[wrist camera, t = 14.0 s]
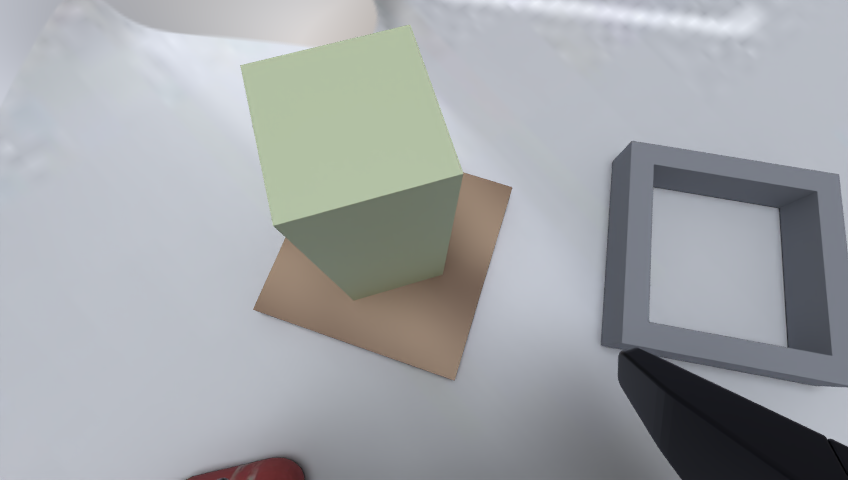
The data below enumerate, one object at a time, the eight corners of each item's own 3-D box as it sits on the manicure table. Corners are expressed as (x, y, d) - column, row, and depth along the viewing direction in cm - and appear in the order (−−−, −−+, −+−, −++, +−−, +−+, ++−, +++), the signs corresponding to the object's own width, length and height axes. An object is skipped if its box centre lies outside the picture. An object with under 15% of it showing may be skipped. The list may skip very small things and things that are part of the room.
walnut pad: (453, 379, 18) (454, 380, 17) (260, 311, 19) (253, 309, 18) (509, 194, 20) (512, 187, 19) (336, 141, 21) (332, 132, 20)
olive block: (442, 274, 18) (463, 173, 9) (353, 300, 18) (273, 225, 8) (417, 193, 19) (409, 24, 10) (332, 216, 19) (240, 65, 9)
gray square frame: (814, 385, 18) (862, 388, 16) (601, 345, 18) (621, 342, 16) (799, 192, 20) (839, 174, 18) (612, 161, 21) (631, 140, 19)
